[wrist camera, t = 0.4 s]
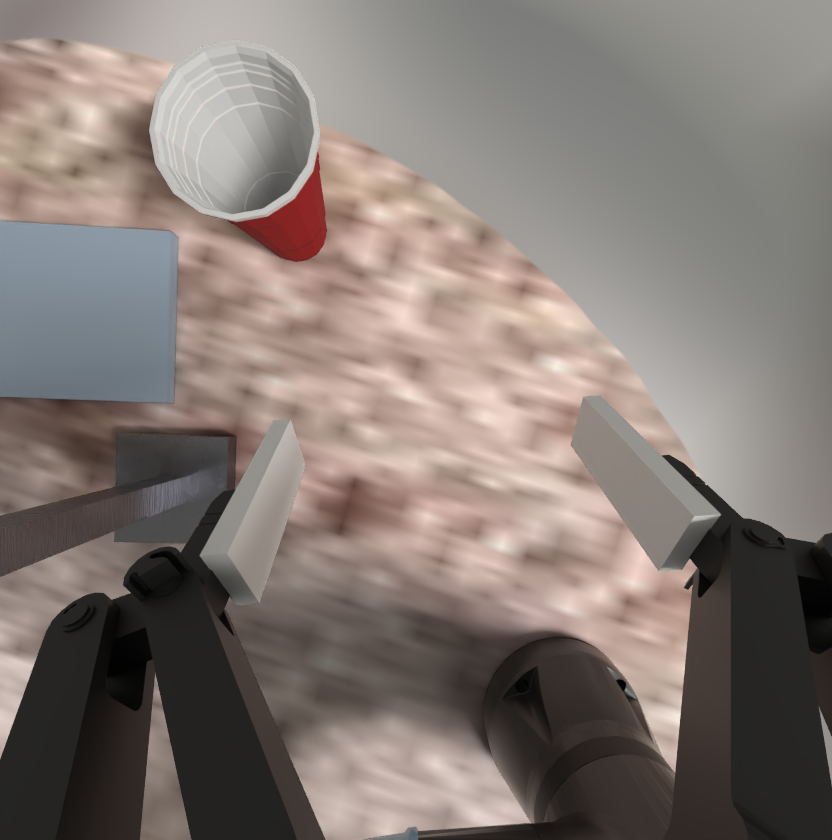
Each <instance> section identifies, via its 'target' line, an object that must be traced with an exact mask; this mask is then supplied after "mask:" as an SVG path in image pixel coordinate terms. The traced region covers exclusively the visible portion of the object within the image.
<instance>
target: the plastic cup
mask: <svg viewBox="0 0 832 840" xmlns="http://www.w3.org/2000/svg"><path fill="white" fill-rule="evenodd" d="M149 132H150V137H151V143H152V148H153V154H154V159H155V164H156V166H157V167H158V169H159V171H160V172H161V174H162V176H163V177H164V179H165V180H166V182H167V184H168V185H169V187H170V189H171V190H172V192H173V193H174V194H175V195H177V196H178V197H179V198H181V199H182V200H183V201H185V202H186V203H188V204H189V205H190V206H192V207H193V208H194V209H196V210H197V211H198V212H200V213H202V214H205V215H208V216H213V217H217V218H221V219H225V220H227V221H229V222H230V223H232V224H235V225H237V226H238V227H239V228H241V229H242V230H243V231H245V232H246V233H248V234H249V235H250V236H252V237H253V238H254V239H256V240H257V241H259V242H260V243H261V244H263V245H264V246H265V247H267V248H269V249H271V250H272V251H273V252H275V253H276V254H277V255H279V256H280V257H282V258H284V259H288V260H292V261H295V262H297V261H304V260H308V259H310V258H311V257H313V256H315V255H317V253H318V252H319V251H320V249H321V248H322V247H323V245H324V241H325V237H326V232H327V229H326V222H325V207H324V200H323V193H322V187H321V180H320V173H319V171H320V165H319V159H318V158H319V154H318V147H319V143H320V130H319V123H318V117H317V111H316V105H315V99H314V96H313V94H312V93H311V91H310V89H309V88H308V86H307V84H306V83H305V81H304V79H303V78H302V76H301V74H300V73H299V71H298V69H297V68H296V67H295V66H294V65H293V64H291V63H290V62H288V61H287V60H286V59H284V58H283V57H282V56H280V55H279V54H278V53H276V52H275V51H273V50H272V49H271V48H269V47H267V46H262V45H258V44H253V43H249V42H244V41H239V40H231V41H226V42H221V43H216V44H212V45H206V46H202V47H201V48H199V49H198V50H196V51H195V52H194V53H192V54H191V55H189V56H188V57H186V58H185V59H184V60H182V61H181V62H179V63H178V64H176V65H175V66H174V67H173V69H172V70H171V72H170V74H169V75H168V77H167V78H166V80H165V81H164V83H163V85H162V86H161V88H160V89H159V91H158V93H157V94H156V97H155V102H154V107H153V112H152V117H151V123H150V128H149Z"/></svg>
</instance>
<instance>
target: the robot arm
mask: <svg viewBox="0 0 832 840" xmlns="http://www.w3.org/2000/svg"><path fill="white" fill-rule="evenodd" d="M571 446H572V448H573V449H574V450H575V452H576V453H577V455H578V456H579V458H580V459H581V460H582V462H583V463H584V465H585V466H586V468H587V469H588V470H589V472H590V473H591V475H592V476H593V478H594V479H595V481H596V482H597V483H598V485H599V486H600V488H601V489H602V491H603V492H604V493H605V495H606V496H607V498H608V499H609V501H610V502H611V503H612V505H613V506H614V508H615V509H616V511H617V512H618V514H619V515H620V516H621V518H622V519H623V521H624V522H625V524H626V525H627V526H628V528H629V529H630V531H631V532H632V534H633V535H634V536H635V538H636V539H637V541H638V542H639V544H640V545H641V547H642V548H643V549H644V551H645V552H646V554H647V555H648V557H649V558H650V559H651V561H652V562H653V564H654V565H655V567H656V568H657V569H658V571H669V570H682V569H683V567H684V566H685V564H686V563H687V562H688V560H689V559H691V560H692V562H693V563H694V564H695V565H696V567H697V569H696V571H695V572H694V573H693V575H692V576H691V577H690V579H689V580H688V581H687V583H686V585H685V587H684V588H685V589H687V590H688V589H689V588H690V587H691V585H693V587H692V598H691V609H690V620H689V631H688V641H687V652H686V663H685V674H684V685H683V696H682V707H681V718H680V728H679V739H678V750H677V761H676V772H675V773H674V771H673V770H672V769H671V768H670V766H669V765H668V764H667V762H666V761H665V759H664V758H663V757H662V755H661V752H660V750H659V748H658V745H657V743H656V741H655V738H654V736H653V734H652V731H651V729H650V727H649V724H648V722H647V720H646V718H645V715H644V713H643V711H642V708H641V706H640V704H639V701H638V699H637V697H636V695H635V693H634V691H633V689H632V687H631V686H630V684H629V683H628V681H627V680H626V678H625V677H624V676H623V675H622V674H621V672H620V671H619V670H618V669H617V668H616V666H615V665H614V664H613V663H612V662H611V661H610V660H609V658H608V657H607V656H605V655H604V654H603V653H602V652H601V651H599V650H598V649H596V648H595V647H593V646H591V645H589V644H587V643H584V642H582V641H578V640H574V639H569V638H549V639H543V640H539V641H536V642H533V643H531V644H528V645H526V646H524V647H522V648H521V649H519V650H518V651H516V652H515V653H513V654H512V655H511V656H510V657H509V658H508V659H507V660H506V661H505V662H504V663H503V664H502V665H501V666H500V667H499V669H498V670H497V672H496V673H495V675H494V676H493V678H492V680H491V682H490V684H489V687H488V690H487V693H486V697H485V702H484V714H483V716H484V726H485V731H486V735H487V738H488V742H489V746H490V750H491V753H492V756H493V759H494V761H495V763H496V766H497V768H498V770H499V772H500V773H501V775H502V776H503V778H504V780H505V781H506V783H507V785H508V786H509V788H510V790H511V791H512V793H513V794H514V796H515V798H516V799H517V801H518V802H519V804H520V806H521V807H522V809H523V811H524V812H525V814H526V815H527V817H528V819H529V820H530V822H531V824H529V823H528V824H527V823H525V824H511V825H497V826H484V827H470V828H456V829H442V830H428V831H417V828H416V827H411V828H408V829H407V830H406V831H405V833H399V834H393V835H387V836H380V837H374V838H368V839H364V840H832V786H831V779H830V774H829V767H828V761H827V755H826V748H825V742H824V736H823V731H822V725H821V718H820V712H819V707H820V710H821V712H822V715H823V717H824V719H825V722H826V724H827V726H828V729H829V731H830V733H831V736H832V533H830V534H825V535H824V536H823V537H822V538H821V539H820V540H819V541H818V542H817V543H813V542H807V541H801V540H796V539H790V538H785V537H784V536H783V535H782V534H781V533H780V532H778V531H777V530H775V529H774V528H772V527H771V526H769V525H766V524H764V523H761V522H760V521H756V520H752V519H743V518H742V517H741V516H740V515H739V514H738V513H736V511H735V510H734V509H732V508H731V507H730V506H729V505H728V504H727V503H726V502H725V501H724V500H723V499H722V498H721V497H719V496H718V495H717V494H716V493H715V492H714V491H713V490H712V489H711V488H710V487H709V486H708V485H705V482H704V481H702V480H701V479H700V478H699V477H698V476H697V477H696V474H695V473H694V472H693V471H692V470H691V469H690V468H689V467H687V466H686V465H685V464H684V463H682V462H681V461H679V460H677V459H675V458H674V457H672V456H670V455H662V456H661V455H660V454H659V453H658V452H657V451H656V450H655V449H654V448H653V447H652V446H651V445H650V444H649V443H648V442H647V441H646V440H645V439H644V438H643V437H642V436H641V435H640V434H639V433H638V432H637V431H636V430H635V429H634V428H633V427H632V426H631V425H630V424H629V423H628V422H627V421H626V420H625V419H624V418H623V417H622V416H621V415H620V414H619V413H618V412H617V411H616V410H615V409H613V408H612V407H611V406H610V405H609V404H608V403H607V402H606V401H605V400H604V399H603V398H602V397H601V396H588V397H583V400H582V404H581V408H580V411H579V415H578V419H577V423H576V426H575V430H574V434H573V438H572V441H571ZM305 467H306V464H305V461H304V458H303V455H302V452H301V449H300V446H299V443H298V440H297V437H296V434H295V431H294V428H293V425H292V422H291V419H289V420H276V421H273V422H272V424H271V426H270V428H269V430H268V431H267V433H266V435H265V437H264V439H263V441H262V442H261V444H260V446H259V448H258V450H257V452H256V453H255V455H254V457H253V459H252V461H251V463H250V464H249V466H248V468H247V470H246V472H245V473H244V475H243V477H242V479H241V481H240V483H239V484H238V486H237V488H236V490H225V491H223V492H222V493H221V494H220V495H219V496H217V497H216V498H215V499H214V500H213V501H212V502H211V504H210V506H209V507H208V509H207V511H206V512H205V516H203V517H202V519H201V521H200V522H199V526H197V527H196V529H195V531H194V532H193V534H192V536H191V537H190V539H189V541H188V542H187V544H186V545H185V547H184V549H183V550H182V552H181V553H180V552H179V551H178V550H177V549H176V548H173V547H163V548H158V549H156V550H154V551H151V552H149V553H147V554H146V555H144V556H143V557H141V558H140V559H138V560H137V561H136V562H135V563H134V564H133V565H132V566H131V567H130V569H129V570H128V572H127V574H126V575H125V577H124V583H123V585H124V586H125V587H126V588H127V589H128V590H129V591H130V592H131V593H130V594H127V595H125V596H122V597H119V598H116V599H113V600H111V599H110V598H109V597H108V596H106V595H105V594H104V593H92V594H89V595H86V596H83V597H81V598H80V599H78V600H76V601H74V602H72V603H71V604H70V605H68V606H67V607H66V608H65V609H63V610H62V611H61V612H60V613H59V614H58V615H57V616H56V617H55V618H54V619H53V621H52V622H51V624H50V626H49V627H48V629H47V631H46V634H45V636H44V639H43V642H42V645H41V647H40V650H39V653H38V656H37V659H36V661H35V664H34V667H33V670H32V673H31V675H30V678H29V681H28V684H27V686H26V689H25V692H24V695H23V698H22V700H21V703H20V706H19V709H18V712H17V714H16V717H15V720H14V723H13V725H12V728H11V731H10V734H9V737H8V739H7V742H6V745H5V748H4V751H3V753H2V756H1V759H0V840H140V830H141V819H142V808H143V798H144V787H145V776H146V765H147V754H148V743H149V733H150V722H151V711H152V700H153V689H154V678H155V672H156V677H157V681H158V686H159V691H160V695H161V700H162V705H163V709H164V714H165V719H166V723H167V728H168V733H169V737H170V742H171V746H172V751H173V756H174V760H175V765H176V770H177V774H178V779H179V784H180V788H181V793H182V798H183V802H184V807H185V811H186V816H187V821H188V825H189V830H190V835H191V839H192V840H325V838H324V835H323V833H322V831H321V828H320V826H319V824H318V821H317V819H316V817H315V814H314V812H313V810H312V807H311V805H310V803H309V800H308V798H307V796H306V793H305V791H304V789H303V787H302V784H301V782H300V780H299V777H298V775H297V773H296V770H295V768H294V766H293V763H292V761H291V759H290V756H289V754H288V752H287V749H286V747H285V745H284V742H283V740H282V738H281V736H280V733H279V731H278V729H277V726H276V724H275V722H274V719H273V717H272V715H271V712H270V710H269V708H268V705H267V703H266V701H265V698H264V696H263V694H262V691H261V689H260V687H259V685H258V682H257V680H256V678H255V675H254V673H253V671H252V668H251V666H250V664H249V661H248V659H247V657H246V654H245V652H244V650H243V647H242V645H241V643H240V640H239V638H238V636H237V633H236V631H235V629H234V627H233V624H232V622H231V620H230V617H229V615H228V613H227V611H226V610H225V609H224V608H225V606H226V604H227V601H228V599H229V596H230V598H231V599H232V600H233V602H234V603H235V604H236V605H247V604H259V603H260V601H261V598H262V595H263V592H264V589H265V586H266V583H267V580H268V577H269V574H270V571H271V568H272V565H273V562H274V559H275V556H276V553H277V550H278V547H279V544H280V541H281V538H282V535H283V533H284V530H285V527H286V524H287V521H288V518H289V515H290V512H291V509H292V506H293V503H294V500H295V497H296V494H297V491H298V488H299V485H300V482H301V479H302V476H303V473H304V470H305ZM818 705H819V706H818Z"/></svg>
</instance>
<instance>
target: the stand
mask: <svg viewBox="0 0 832 840" xmlns="http://www.w3.org/2000/svg"><path fill="white" fill-rule="evenodd" d="M235 464H236V436H210V435H181V434H151V433H120V434H117V452H116V487H113V488H109V489H105V490H101V491H97V492H93V493H89V494H85V495H81V496H78V497H74V498H70V499H66V500H62V501H58V502H54V503H50V504H46V505H42V506H38V507H34V508H30V509H26V510H22V511H18V512H14V513H10V514H6V515H2V516H0V577H1V576H4V575H6V574H9V573H11V572H13V571H16V570H18V569H21V568H23V567H26V566H28V565H31V564H33V563H36V562H38V561H41V560H43V559H46V558H48V557H51V556H53V555H56V554H58V553H61V552H63V551H66V550H68V549H71V548H73V547H76V546H78V545H81V544H83V543H85V542H88V541H90V540H93V539H95V538H98V537H100V536H103V535H105V534H108V533H110V532H113V531H115V535H114V542H146V543H187V542H188V541H189V539H190V537H191V536H192V534H193V532H194V531H195V529H196V527H197V526H199V522H200V521H201V519H202V517H203V516H205V512H206V511H207V509H208V507H209V506H210V504H211V502H212V501H213V500H214V499H215V498H216V497H217V496H219V495H220V494H221V493H222V492H223V491H225V490H235Z"/></svg>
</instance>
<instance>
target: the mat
mask: <svg viewBox="0 0 832 840" xmlns="http://www.w3.org/2000/svg"><path fill="white" fill-rule="evenodd" d="M177 270H178V236H177V235H175V234H174V233H173V232H172V231H161V230H144V229H127V228H110V227H93V226H76V225H59V224H42V223H25V222H8V221H0V397H19V398H46V399H73V400H99V401H126V402H152V403H174V383H175V345H176V308H177Z"/></svg>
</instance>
